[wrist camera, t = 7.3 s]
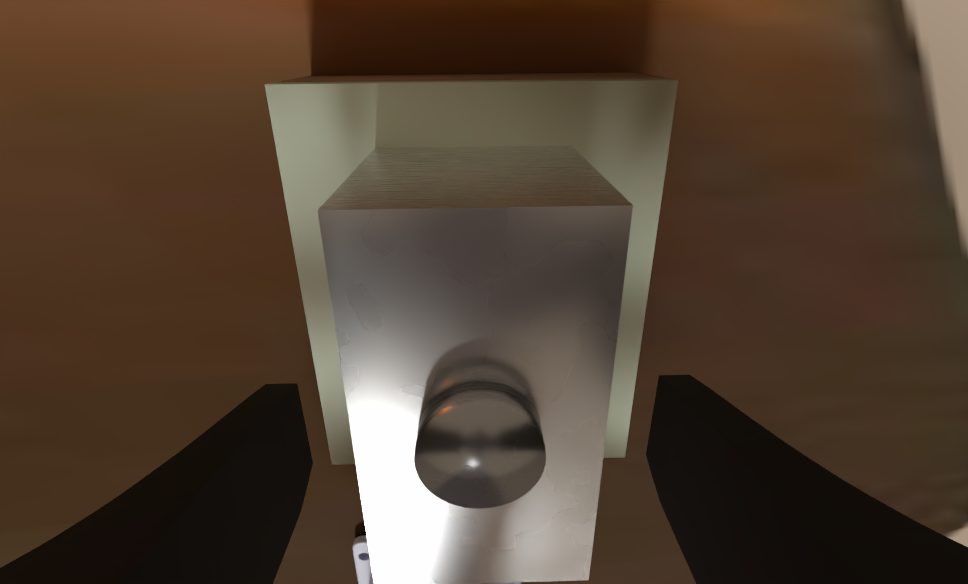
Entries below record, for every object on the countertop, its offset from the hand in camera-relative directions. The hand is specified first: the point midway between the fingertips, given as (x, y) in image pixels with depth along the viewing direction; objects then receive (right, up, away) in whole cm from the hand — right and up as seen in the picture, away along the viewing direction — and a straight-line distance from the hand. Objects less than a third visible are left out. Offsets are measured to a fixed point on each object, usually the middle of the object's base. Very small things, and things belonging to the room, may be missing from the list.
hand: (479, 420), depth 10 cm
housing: (0, +2, +5) cm, 5 cm away
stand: (0, +4, +8) cm, 9 cm away
